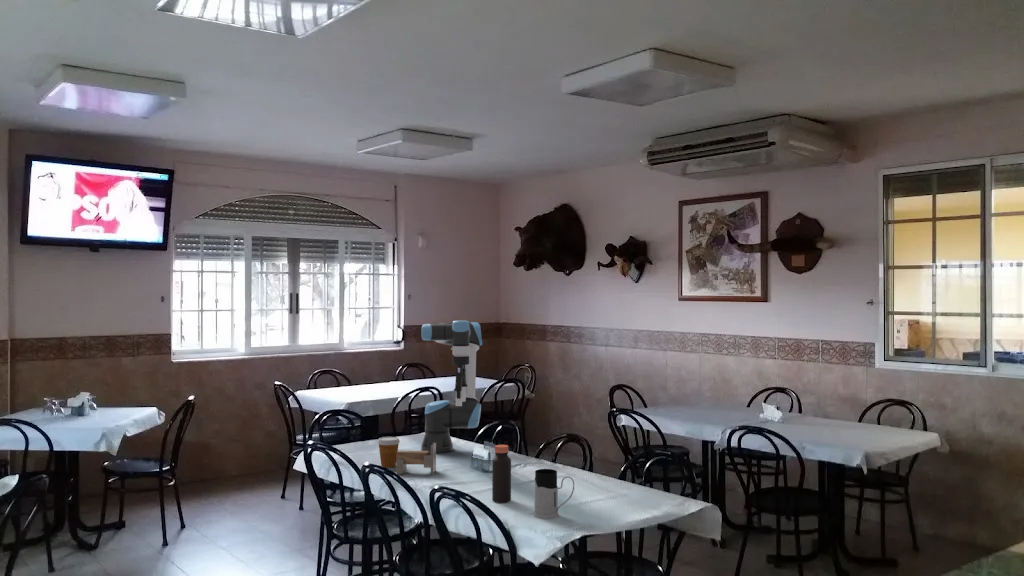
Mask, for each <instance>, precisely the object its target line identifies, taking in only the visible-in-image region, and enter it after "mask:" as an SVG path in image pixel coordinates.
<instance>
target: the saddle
mask: <svg viewBox="0 0 1024 576" xmlns="http://www.w3.org/2000/svg"><path fill="white" fill-rule="evenodd" d="M407 465H408V464H404V459H396V466H395V467H396V471H395V473H397V474H400V476H401V475H404V474H406V472H407Z"/></svg>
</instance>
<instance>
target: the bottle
mask: <svg viewBox="0 0 1024 576" xmlns="http://www.w3.org/2000/svg"><path fill="white" fill-rule="evenodd" d="M494 452H495V456H494V458H492V465H491V466H492V480H491V482H492V491H491V493H492V497H491V498H492V501H493V502H494V503H496V504H505V503H510V501H511V500H512V459H511V458H510V457H509V455H508V454H509V445H508V444H497V445H495V446H494Z"/></svg>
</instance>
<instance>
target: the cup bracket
mask: <svg viewBox="0 0 1024 576" xmlns="http://www.w3.org/2000/svg"><path fill="white" fill-rule="evenodd" d="M423 468H424V469H427V468H428V469H430V476H434V475H435V473H436V472H437V453H436V443H433V444H432V445H431V452H429V455H424V465H423ZM435 471H436V472H435ZM433 474H434V475H433Z"/></svg>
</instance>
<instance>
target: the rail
mask: <svg viewBox="0 0 1024 576" xmlns="http://www.w3.org/2000/svg"><path fill="white" fill-rule="evenodd" d="M424 455H429V451H422V450H399V449H398V451H397V459H404V464H407V465H423V466H424Z"/></svg>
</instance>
